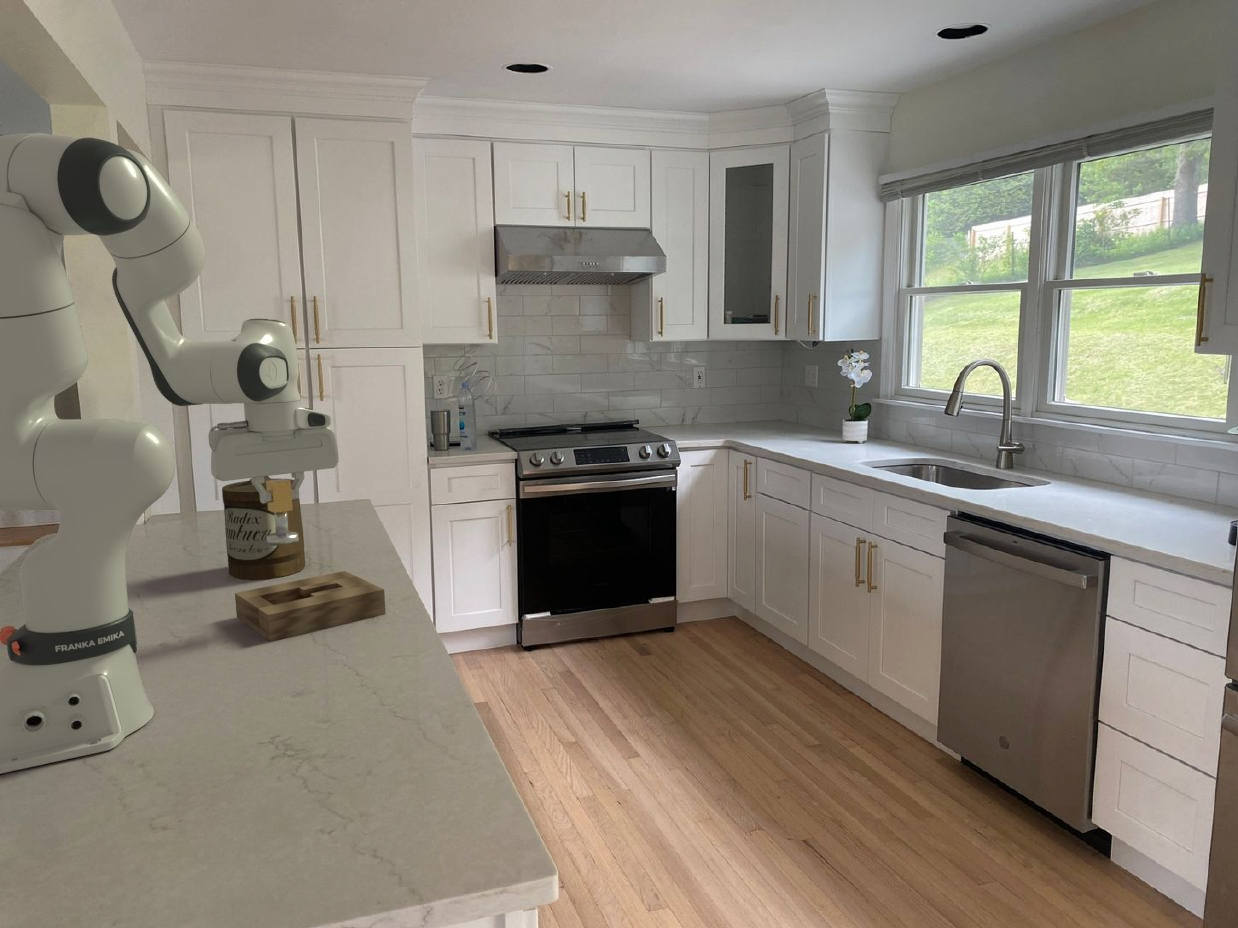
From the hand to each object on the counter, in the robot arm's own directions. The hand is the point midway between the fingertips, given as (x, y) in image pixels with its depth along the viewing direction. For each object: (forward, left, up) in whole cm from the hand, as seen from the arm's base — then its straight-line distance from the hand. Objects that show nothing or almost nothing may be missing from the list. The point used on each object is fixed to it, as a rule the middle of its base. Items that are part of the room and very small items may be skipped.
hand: (279, 500), depth 148 cm
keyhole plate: (+4, 0, -21) cm, 21 cm away
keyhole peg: (0, 0, -7) cm, 7 cm away
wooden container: (+9, +35, -21) cm, 42 cm away
